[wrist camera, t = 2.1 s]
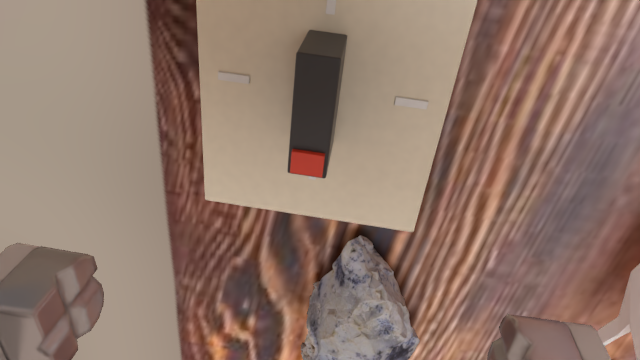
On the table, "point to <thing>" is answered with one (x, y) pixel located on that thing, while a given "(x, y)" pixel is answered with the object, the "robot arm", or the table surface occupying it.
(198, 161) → the table surface
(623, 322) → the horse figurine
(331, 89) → the charcoal bar red cap
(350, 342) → the mineral specimen
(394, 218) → the panel
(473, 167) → the table surface
